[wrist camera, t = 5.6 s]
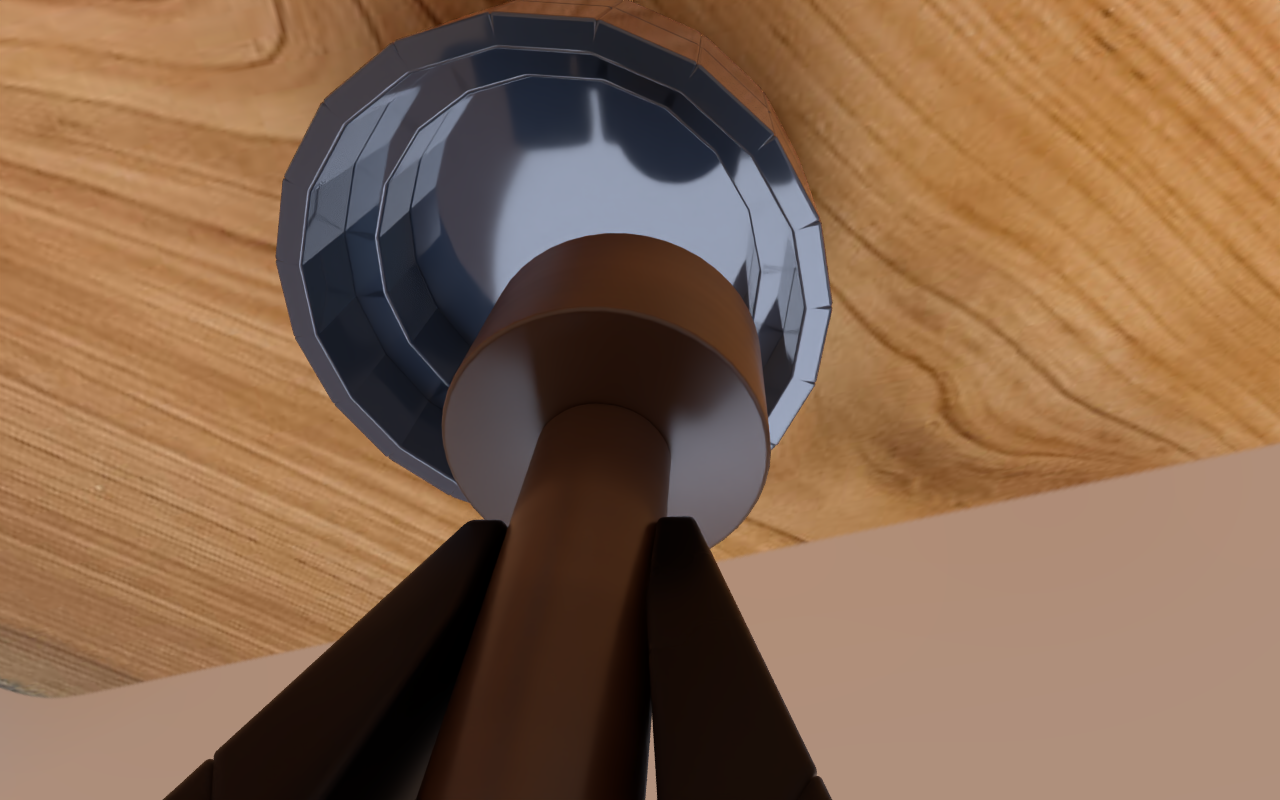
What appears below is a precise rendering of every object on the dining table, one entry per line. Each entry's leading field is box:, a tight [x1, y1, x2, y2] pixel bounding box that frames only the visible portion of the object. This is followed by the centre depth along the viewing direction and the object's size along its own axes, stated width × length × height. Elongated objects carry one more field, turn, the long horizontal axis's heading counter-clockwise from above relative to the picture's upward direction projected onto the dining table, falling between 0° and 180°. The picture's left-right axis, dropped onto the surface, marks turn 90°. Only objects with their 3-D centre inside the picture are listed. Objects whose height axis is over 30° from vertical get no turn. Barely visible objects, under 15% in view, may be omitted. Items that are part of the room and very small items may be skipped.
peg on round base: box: [416, 233, 771, 800], centre depth 8 cm, size 4×4×8 cm
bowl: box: [276, 0, 833, 503], centre depth 18 cm, size 12×12×5 cm
